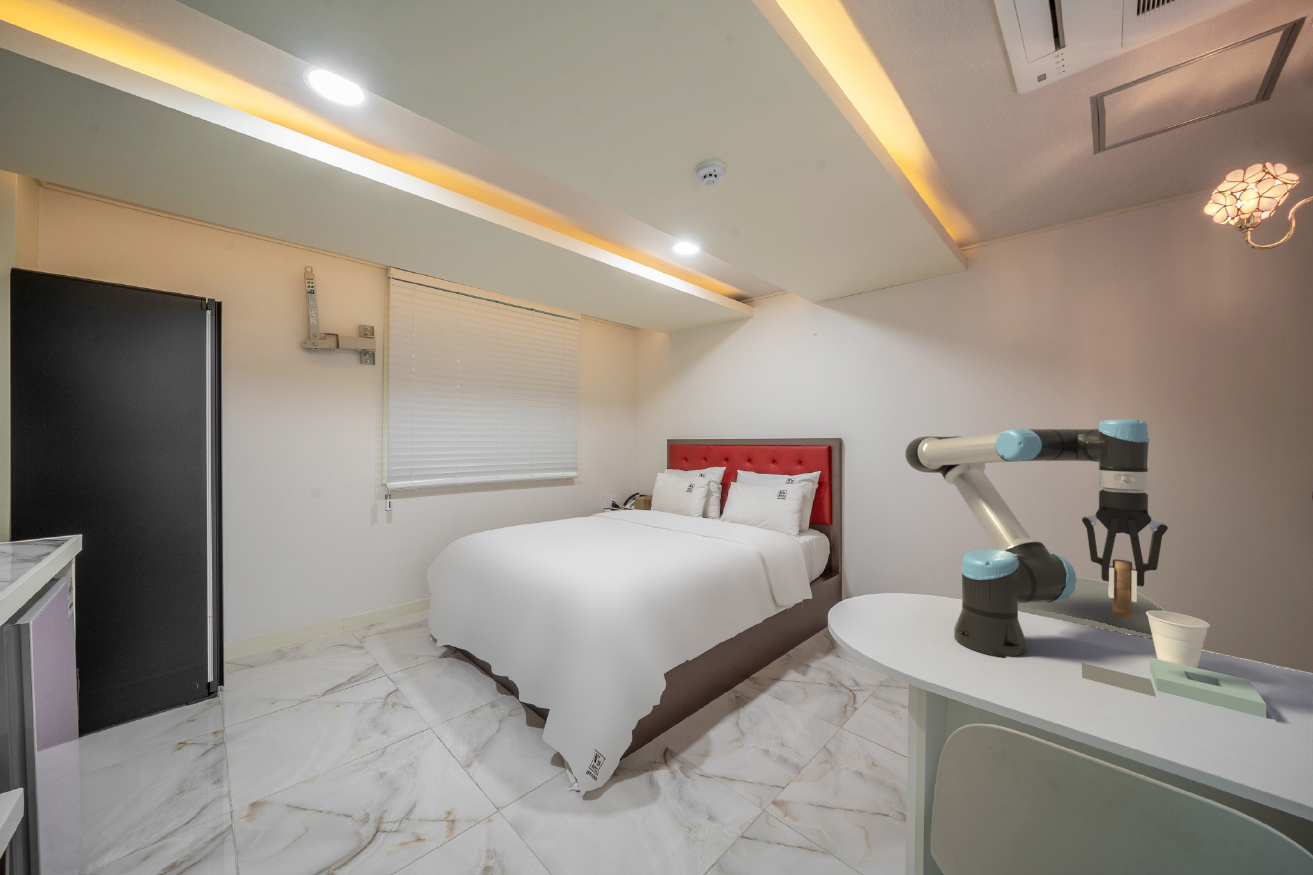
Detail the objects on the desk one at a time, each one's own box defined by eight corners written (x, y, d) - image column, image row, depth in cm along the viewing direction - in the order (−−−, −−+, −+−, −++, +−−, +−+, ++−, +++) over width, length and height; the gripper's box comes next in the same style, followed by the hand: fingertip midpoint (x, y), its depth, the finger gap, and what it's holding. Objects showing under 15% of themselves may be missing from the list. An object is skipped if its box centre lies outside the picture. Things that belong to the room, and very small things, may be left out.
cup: (1224, 678, 102) (1224, 628, 102) (1170, 673, 104) (1170, 624, 104) (1182, 657, 112) (1183, 611, 112) (1134, 653, 114) (1134, 608, 114)
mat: (1082, 679, 101) (1082, 677, 101) (1081, 664, 108) (1081, 662, 108) (1155, 698, 94) (1155, 696, 94) (1150, 681, 101) (1150, 679, 101)
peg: (1112, 616, 100) (1113, 561, 100) (1112, 612, 103) (1112, 558, 103) (1132, 620, 98) (1132, 563, 98) (1131, 616, 101) (1131, 561, 101)
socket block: (1157, 692, 96) (1157, 677, 96) (1149, 670, 105) (1149, 657, 105) (1266, 719, 87) (1266, 704, 87) (1248, 693, 96) (1248, 679, 96)
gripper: (1073, 489, 103) (1073, 594, 103) (1180, 495, 92) (1179, 612, 92) (1073, 486, 108) (1073, 586, 109) (1174, 491, 98) (1173, 602, 98)
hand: (1122, 598), depth 101 cm, fingers closed on peg, 3 cm apart
